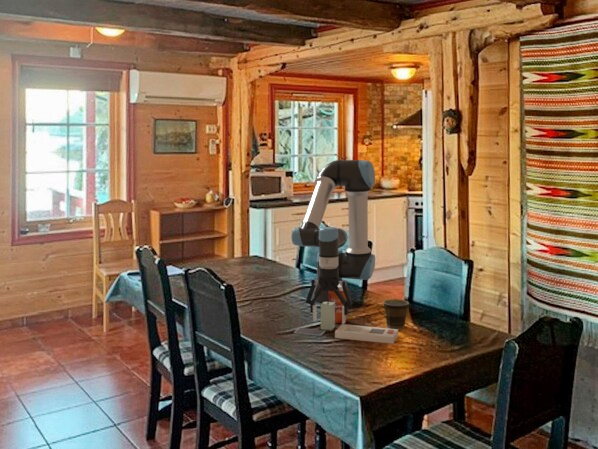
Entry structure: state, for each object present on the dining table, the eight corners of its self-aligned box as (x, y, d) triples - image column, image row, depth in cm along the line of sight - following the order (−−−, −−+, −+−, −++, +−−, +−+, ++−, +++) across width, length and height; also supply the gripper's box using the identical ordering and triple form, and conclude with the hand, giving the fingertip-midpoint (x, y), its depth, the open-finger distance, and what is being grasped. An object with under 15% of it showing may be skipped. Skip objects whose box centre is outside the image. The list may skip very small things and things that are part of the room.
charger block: (323, 326, 251) (324, 301, 250) (334, 327, 250) (334, 302, 248) (320, 329, 247) (320, 303, 246) (331, 330, 245) (331, 304, 244)
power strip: (341, 330, 245) (341, 322, 245) (398, 335, 238) (398, 327, 238) (334, 337, 236) (334, 329, 236) (393, 343, 229) (393, 335, 229)
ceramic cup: (400, 322, 256) (400, 298, 255) (413, 329, 247) (413, 304, 245) (371, 325, 251) (372, 301, 250) (384, 332, 242) (384, 307, 241)
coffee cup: (330, 324, 253) (330, 287, 251) (325, 318, 261) (325, 283, 259) (350, 323, 255) (350, 286, 253) (344, 317, 263) (345, 282, 261)
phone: (299, 330, 248) (299, 327, 247) (325, 333, 244) (325, 330, 244) (293, 334, 242) (293, 331, 242) (321, 337, 238) (321, 334, 238)
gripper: (297, 267, 245) (297, 322, 248) (356, 270, 238) (356, 326, 240) (303, 264, 252) (303, 317, 255) (360, 266, 245) (360, 321, 247)
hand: (329, 321), depth 248 cm, fingers open, 11 cm apart
